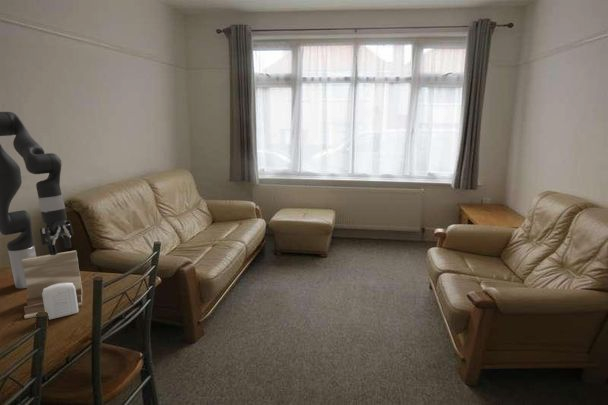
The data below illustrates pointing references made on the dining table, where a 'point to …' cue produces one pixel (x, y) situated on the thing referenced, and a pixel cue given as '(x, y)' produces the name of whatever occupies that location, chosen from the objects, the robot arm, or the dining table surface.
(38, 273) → the cleat board
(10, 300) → the dining table surface
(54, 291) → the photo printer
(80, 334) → the dining table surface
